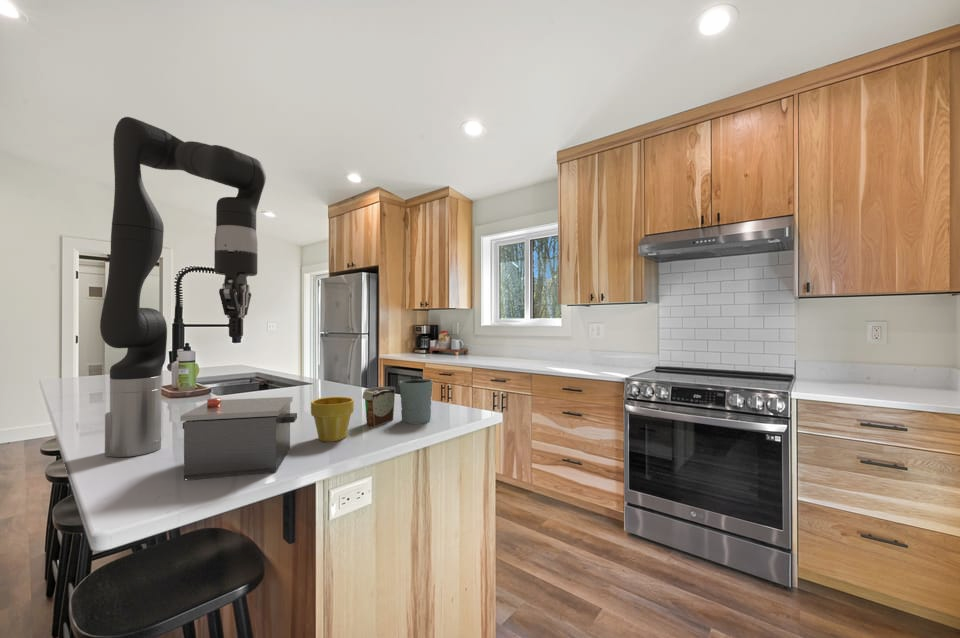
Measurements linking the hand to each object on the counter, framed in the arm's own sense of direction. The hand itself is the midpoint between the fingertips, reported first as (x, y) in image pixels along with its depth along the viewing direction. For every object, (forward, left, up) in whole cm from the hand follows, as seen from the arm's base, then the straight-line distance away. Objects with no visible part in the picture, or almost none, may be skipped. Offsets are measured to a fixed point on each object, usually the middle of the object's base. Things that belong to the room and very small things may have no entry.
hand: (236, 337), depth 85 cm
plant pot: (+17, +20, -27) cm, 38 cm away
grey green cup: (+40, +34, -27) cm, 59 cm away
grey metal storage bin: (0, +5, -27) cm, 27 cm away
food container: (+28, +34, -27) cm, 52 cm away
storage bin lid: (0, +5, -16) cm, 16 cm away
